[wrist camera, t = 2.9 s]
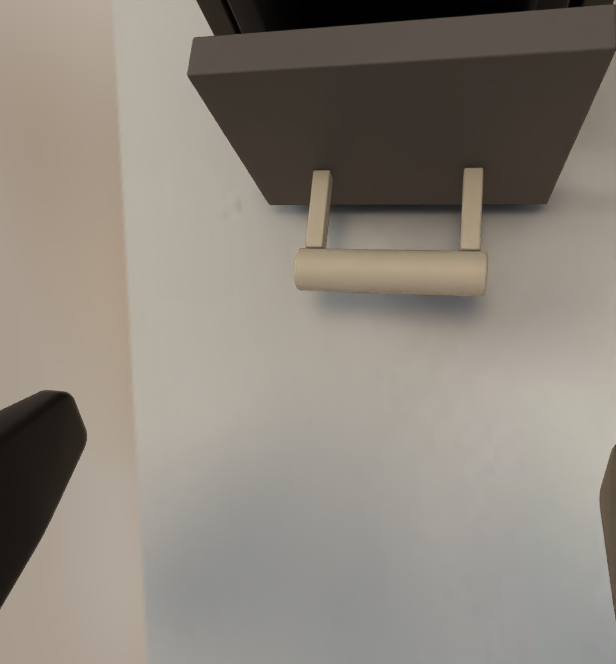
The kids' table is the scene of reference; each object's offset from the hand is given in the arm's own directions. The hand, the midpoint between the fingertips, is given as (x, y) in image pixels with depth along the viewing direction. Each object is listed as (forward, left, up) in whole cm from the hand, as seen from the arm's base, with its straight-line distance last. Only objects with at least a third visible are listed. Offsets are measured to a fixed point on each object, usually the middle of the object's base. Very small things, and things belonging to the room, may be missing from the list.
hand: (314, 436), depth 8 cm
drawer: (+1, +16, -12) cm, 20 cm away
